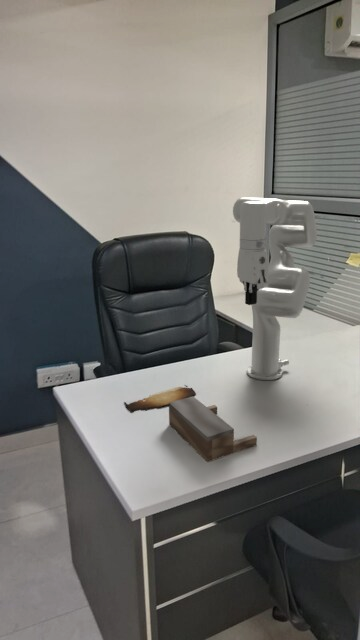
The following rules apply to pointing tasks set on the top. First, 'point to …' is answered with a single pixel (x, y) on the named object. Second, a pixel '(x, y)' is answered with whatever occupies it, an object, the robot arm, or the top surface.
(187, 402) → the wooden step block
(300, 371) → the top surface
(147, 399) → the parchment
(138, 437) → the top surface
